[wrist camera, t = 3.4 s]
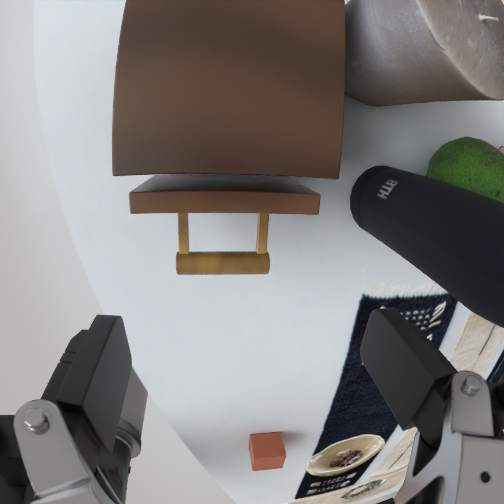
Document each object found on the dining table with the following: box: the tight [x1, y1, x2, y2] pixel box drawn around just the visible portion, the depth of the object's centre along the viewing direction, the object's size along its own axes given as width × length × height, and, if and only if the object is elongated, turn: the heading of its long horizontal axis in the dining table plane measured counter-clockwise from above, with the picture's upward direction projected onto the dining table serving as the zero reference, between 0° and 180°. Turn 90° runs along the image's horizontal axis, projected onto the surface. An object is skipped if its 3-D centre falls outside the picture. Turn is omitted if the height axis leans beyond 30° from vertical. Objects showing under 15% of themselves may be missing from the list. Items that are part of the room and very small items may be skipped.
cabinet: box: [112, 0, 345, 179], centre depth 16 cm, size 14×12×9 cm
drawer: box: [129, 175, 320, 275], centre depth 17 cm, size 17×10×7 cm, turn 177°
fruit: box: [427, 137, 504, 203], centre depth 19 cm, size 8×8×12 cm
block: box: [249, 432, 286, 471], centre depth 35 cm, size 4×4×4 cm
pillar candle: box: [345, 0, 504, 106], centre depth 13 cm, size 10×10×15 cm
